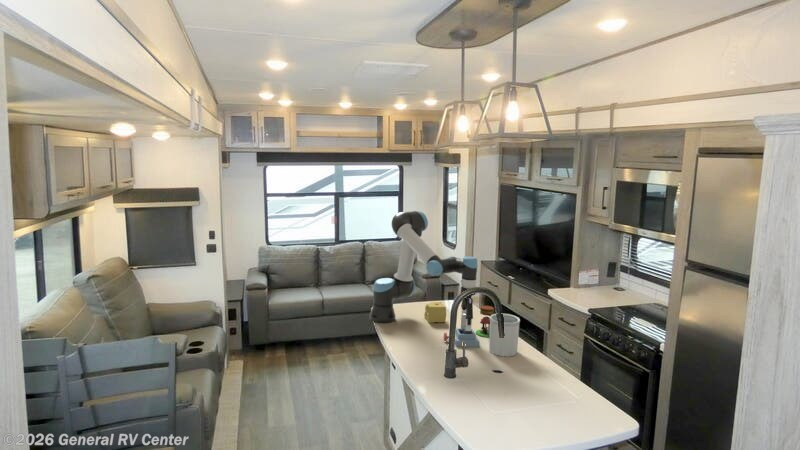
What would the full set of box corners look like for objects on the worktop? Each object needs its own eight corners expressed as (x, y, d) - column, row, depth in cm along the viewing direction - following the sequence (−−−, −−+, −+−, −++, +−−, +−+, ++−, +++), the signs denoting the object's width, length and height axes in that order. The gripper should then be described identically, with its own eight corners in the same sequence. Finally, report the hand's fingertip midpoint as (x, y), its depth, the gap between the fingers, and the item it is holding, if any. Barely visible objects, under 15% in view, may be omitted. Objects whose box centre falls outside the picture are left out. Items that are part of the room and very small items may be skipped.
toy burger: (472, 336, 267) (474, 309, 265) (476, 329, 279) (478, 303, 277) (494, 339, 263) (496, 312, 261) (497, 332, 275) (499, 306, 273)
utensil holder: (491, 357, 239) (493, 322, 237) (484, 345, 254) (487, 312, 252) (521, 357, 240) (523, 323, 238) (513, 346, 255) (515, 313, 252)
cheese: (424, 317, 294) (424, 301, 293) (441, 317, 296) (442, 301, 295) (428, 323, 284) (429, 306, 283) (446, 323, 286) (447, 306, 285)
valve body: (442, 337, 265) (442, 326, 264) (473, 338, 265) (474, 327, 265) (445, 347, 251) (446, 335, 250) (478, 347, 252) (479, 336, 251)
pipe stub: (459, 334, 260) (460, 312, 258) (469, 334, 260) (470, 312, 259) (461, 337, 255) (462, 315, 253) (470, 337, 255) (472, 315, 254)
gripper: (457, 280, 266) (455, 318, 269) (465, 293, 242) (462, 334, 244) (471, 280, 267) (468, 318, 270) (480, 293, 242) (477, 334, 245)
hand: (465, 326), depth 257 cm, fingers open, 13 cm apart
